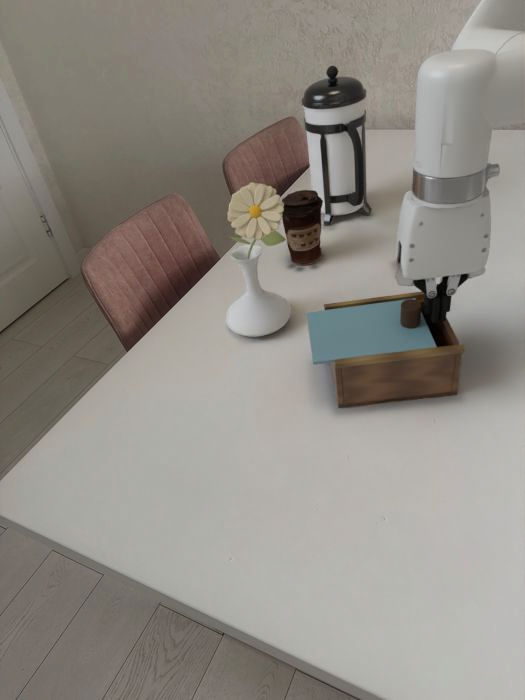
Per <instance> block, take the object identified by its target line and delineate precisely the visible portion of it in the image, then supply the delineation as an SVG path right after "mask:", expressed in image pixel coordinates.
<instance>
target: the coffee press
mask: <svg viewBox="0 0 525 700" xmlns="http://www.w3.org/2000/svg"><path fill="white" fill-rule="evenodd" d="M325 74H326V76H327V78H323V79H320V80H317V81H315V82H313V83H312V84H310V85H309V86H308V87H307V88H306V90H305V91H304V94H303V97H302V98H301V105H302V107H303V108H304V109H303V110H304V121H303V122H304V129H305V131H306V142H307V149H308V150H307V153H308V163H309V174H310V175H309V176H310V185H311V190H313V191H316V192H317V193H318V196H319V197H320V198H321V199H322V201H323V203H322V208H321V214H323V215H324V218H323V225H325V226H332V223H333V220H334V217H335V216H343V215H348V214H349V215H350V214H352V213H355V212H357V211H360V212H361V213H362V214H364V216H369V215H370V214H371V213H372V212H373V208H372V207H371V206H370V204H369V202H368V199H367V198H368V197H367V196H368V195H367V153H366V152H367V149H366V148H367V147H366V121H367V110H366V107H365V105H366V104H365V103H366V102H365V101H366V99H367V98H366V97H367V89H366V88H364V85H363V83H362V82H361V81H360V80H359V79H358V78H355V77H352V76H351V77H350V76H338V74H339V70H338V67H337V66H336V65H330V66H329V67H327V69H326V72H325ZM364 206H365V208H366V209H367V210H368V211H367V210H366V209H365V208H364Z"/></svg>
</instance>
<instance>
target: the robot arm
mask: <svg viewBox="0 0 525 700" xmlns="http://www.w3.org/2000/svg"><path fill="white" fill-rule="evenodd" d="M414 116H415V118H414V138H413V139H414V140H413V141H414V143H413V165H412V180H411V181H412V182H411V183H412V184H411V190H408V191H406V192H405V193H404V195H403V199H402V203H401V207H400V212H399V218H398V225H397V233H396V239H395V261H396V264H397V265H398V264H399V266H398V267H397V270H396V273H395V277H394V278H395V281H396V283H397V285H398V286H401V287H402V286H403V287H404V286H405V287H415V288H417V289H418V290H419V291H420V292H421V291H422V292H423V293H424V312H425V314H426V315H428V314H429V316H430V318H431V321H432V323H437V322H438V321H441V322H445V321H446V318H447V313H450V312H451V305H452V297H453V296H454V295H455V294H456V293H457V290H458V288H459V287H461V286H462V285H463V284H464V283H465V282H466V281H467V280H468V279H473V278H476V277H479V276H482V275H484V274H485V273H486V265H487V263H488V260H489V254H490V247H491V245H490V244H491V235H492V234H491V233H492V209H491V207H492V205H491V195H490V191H489V188H488V187H487V185H488V181H489V180H491V179H492V178H496V177H499V175H500V172H501V171H500V170H501V169H500V165H499V163H493V164H492V163H489V154H490V147H491V141H492V134H493V130H494V129H496V128H498V127H504V126H512V125H522V124H525V0H480V2H479V3H478V5H477V6H476V8H475V9H474V10H473V12H472V13H471V15H470V17H469V18H468V20H467V21H466V22H465V25H464V26H463V27H462V29H461V31H460V32H459V34H458V36H457V37H456V39H455V41H454V42H453V45H452V47H451V49H450V50H447V51H442V52H439V53H436V54H434V55H432V56H429V57H428V58H426V59H425V60H424V61H423V63H422V64H421V65H420V67H419V70H418V73H417V78H416V94H415V115H414ZM401 247H402V248H401ZM436 278H440V279H439V282H440V283H437V281H436V280H437V279H436Z"/></svg>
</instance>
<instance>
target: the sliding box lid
mask: <svg viewBox="0 0 525 700" xmlns="http://www.w3.org/2000/svg"><path fill="white" fill-rule="evenodd" d="M421 306H422V305H421V303H420V302H419V301H418V300H416V299H415V298H413V299H406V300H398V301H391V302H383V303H375V304H368V305H360V306H353V307H345V308H337V309H330V310H324V309H323V310H316V311H308V312H306V313H305V315H306V322H307V328H308V335H309V337H308V338H309V345H310V351H311V358H312V365H313V366H315V365H322V364H323V365H324V364H330V363H333V362H334V360H338V359H346V358H354V357H362V356H370V355H379V354H387V353H395V352H403V351H411V350H419V349H427V348H436V347H437V346H436V344H435V342H434V339H433V337H432V335H431V333H430V330H429V328H428V326H427V324H426V321H425V319H424V317H423V315H422V312H421Z"/></svg>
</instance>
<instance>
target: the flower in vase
mask: <svg viewBox="0 0 525 700" xmlns="http://www.w3.org/2000/svg"><path fill="white" fill-rule="evenodd" d="M283 207H284V203H283V202H282V200H281V196H280V195H279V194H277V188H273V187H272V186H271V185H266V184H263V183H257V182H254V181H253V182H252V181H251V182H249V184H247V185H245V186H242V187H240V189H239V190H237V191H236V192H233V193H232V194H231V199H230V202H229V203H228V211H227V213H226V215H227V221H228V222H229V223H231V224H230V226H231V228H233V229H234V233H235V234H236V235H238V236H239V237H235V236H231V235H229V234H227V233H225V235H226V236H227V237H228V238H230V239H231V240H232V241H235V242H237V243H240V244H241V243H242V244H244V245H240V246H237V247H236V248H234V249H233V250H232V251H231V252H230V258H231V259H232V260H234V261H235V262H236V264H237V265H238V266H239V268H240V270H241V272H242V275H243V279H244V282H245V292H244V293H243V294H242V295H241V296H240V297H238V298H237V299H235V301H233V303H232V304H231V305H230V306H229V308H228V309H227V311H226V316H225V324H226V325H227V327H228V328H229V329H230V330H231V331H233V332H234V333H236V334H238V335H239V336H244V337H252V338H253V337H262V336H267V335H270V334H273V333H275V332H277V331H279V330H280V329H282V328H283V327H284V326H285V325H287V323H288V321H289V320H290V318H291V315H292V307H291V305H290V304H289V301H288V300H287V299H286V298H285V297H284V296H281V295H279V294H277V293H275V292H272V291H269V290H265V289H263V288H262V286H261V284H260V281H259V280H260V279H259V272H258V265H259V259H260V256H261V255H262V253H263V248H262V247H261V246H260V245H258V244H255V243H256V241H261V242H262V243H263V244H264V245H266V246H267V247H272V246H276V245H279V244H281V243H283V242H285V241H287V238H286V237H285V236H283V235H282V234H281V233H279V232H278V231H277V230H278V229H279V228H280V225H281V221H282V216H283V214H282V212H283V211H284V208H283ZM243 237H244V238H246V239H249V240H250V239H253V241H252V242H249V241H247V240H246V239H244V238H243Z"/></svg>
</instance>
